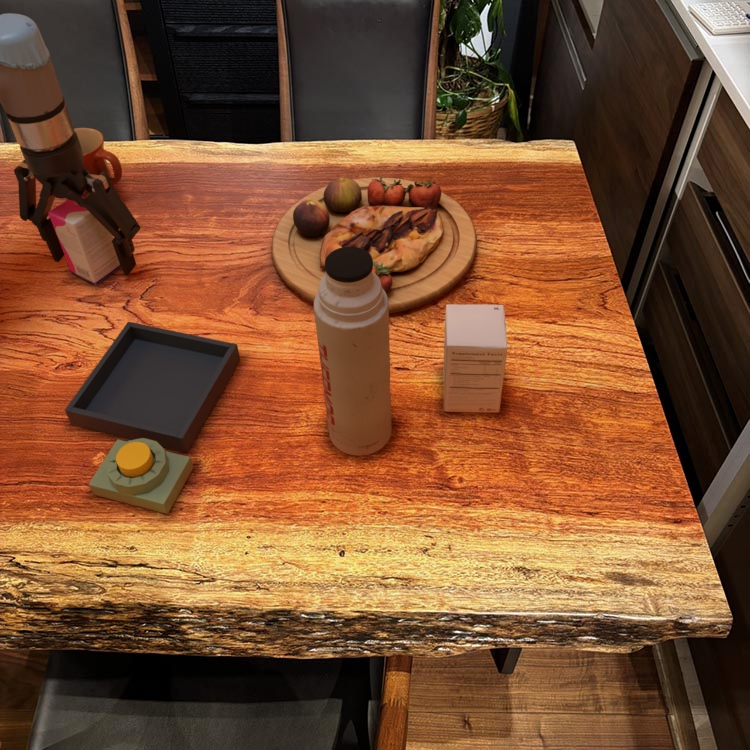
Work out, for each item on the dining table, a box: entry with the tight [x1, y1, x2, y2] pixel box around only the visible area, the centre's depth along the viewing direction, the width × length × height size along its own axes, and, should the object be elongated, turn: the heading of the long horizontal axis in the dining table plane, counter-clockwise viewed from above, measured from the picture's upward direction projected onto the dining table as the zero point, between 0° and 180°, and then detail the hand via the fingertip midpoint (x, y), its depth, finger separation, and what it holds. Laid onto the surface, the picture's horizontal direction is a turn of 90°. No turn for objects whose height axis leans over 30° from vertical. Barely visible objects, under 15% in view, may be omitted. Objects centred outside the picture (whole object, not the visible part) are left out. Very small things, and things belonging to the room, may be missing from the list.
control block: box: [88, 438, 194, 515], centre depth 96 cm, size 10×7×4 cm
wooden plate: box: [270, 176, 478, 314], centre depth 123 cm, size 32×32×8 cm
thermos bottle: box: [313, 247, 393, 457], centre depth 91 cm, size 8×8×28 cm
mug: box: [74, 127, 123, 197], centre depth 133 cm, size 12×9×10 cm
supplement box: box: [48, 196, 121, 287], centre depth 120 cm, size 6×6×12 cm
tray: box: [64, 321, 241, 454], centre depth 106 cm, size 17×17×3 cm
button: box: [116, 442, 154, 478], centre depth 94 cm, size 4×4×2 cm
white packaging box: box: [442, 303, 508, 414], centre depth 101 cm, size 7×7×13 cm
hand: (95, 263), depth 124 cm, fingers open, 11 cm apart
